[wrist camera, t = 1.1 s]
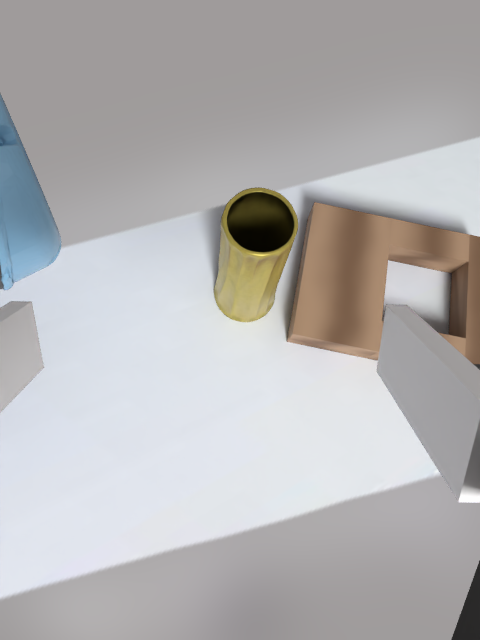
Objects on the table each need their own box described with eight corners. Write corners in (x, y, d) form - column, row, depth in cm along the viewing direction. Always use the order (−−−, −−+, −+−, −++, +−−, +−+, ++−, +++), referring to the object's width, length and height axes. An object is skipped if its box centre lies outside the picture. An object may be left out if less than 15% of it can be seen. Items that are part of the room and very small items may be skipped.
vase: (247, 254, 43) (263, 166, 29) (287, 297, 42) (323, 226, 28) (201, 289, 41) (196, 214, 28) (241, 335, 40) (256, 280, 26)
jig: (287, 341, 40) (292, 333, 37) (307, 217, 44) (314, 202, 41) (466, 378, 40) (486, 374, 37) (471, 251, 44) (488, 238, 41)
